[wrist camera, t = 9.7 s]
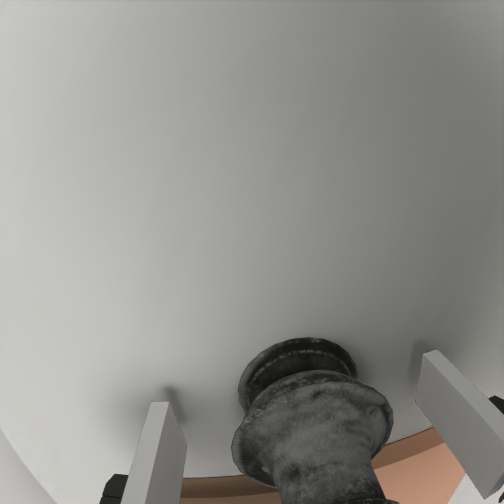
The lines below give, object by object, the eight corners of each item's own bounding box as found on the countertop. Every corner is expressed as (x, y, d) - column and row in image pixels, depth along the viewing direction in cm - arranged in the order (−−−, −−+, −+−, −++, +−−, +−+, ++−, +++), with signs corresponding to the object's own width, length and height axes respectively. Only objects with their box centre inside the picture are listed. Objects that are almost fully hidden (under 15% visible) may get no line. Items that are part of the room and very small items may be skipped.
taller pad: (340, 458, 14) (347, 477, 13) (480, 405, 14) (492, 417, 13) (333, 532, 17) (336, 545, 15) (439, 495, 17) (445, 506, 16)
